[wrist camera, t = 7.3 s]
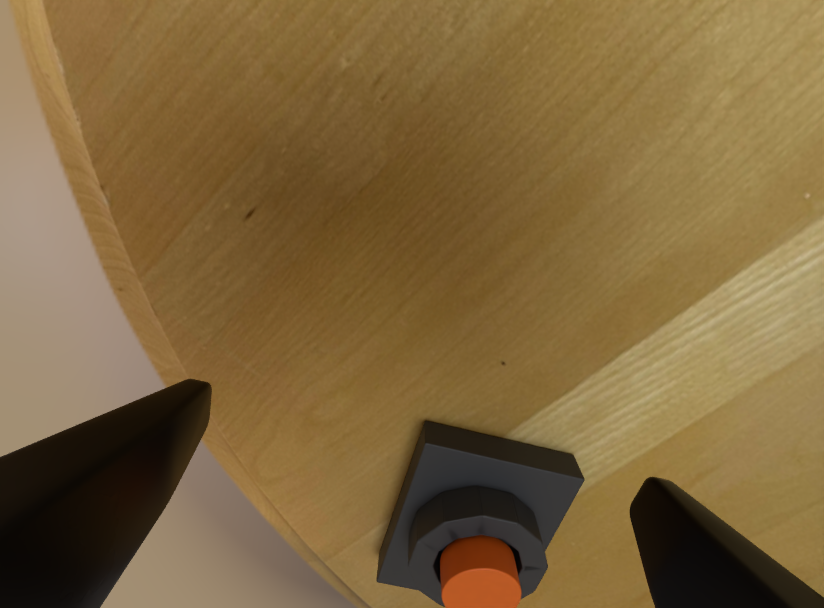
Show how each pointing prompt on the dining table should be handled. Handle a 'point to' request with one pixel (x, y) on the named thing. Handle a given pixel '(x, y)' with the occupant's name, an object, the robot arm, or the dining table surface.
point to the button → (479, 574)
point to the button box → (475, 505)
